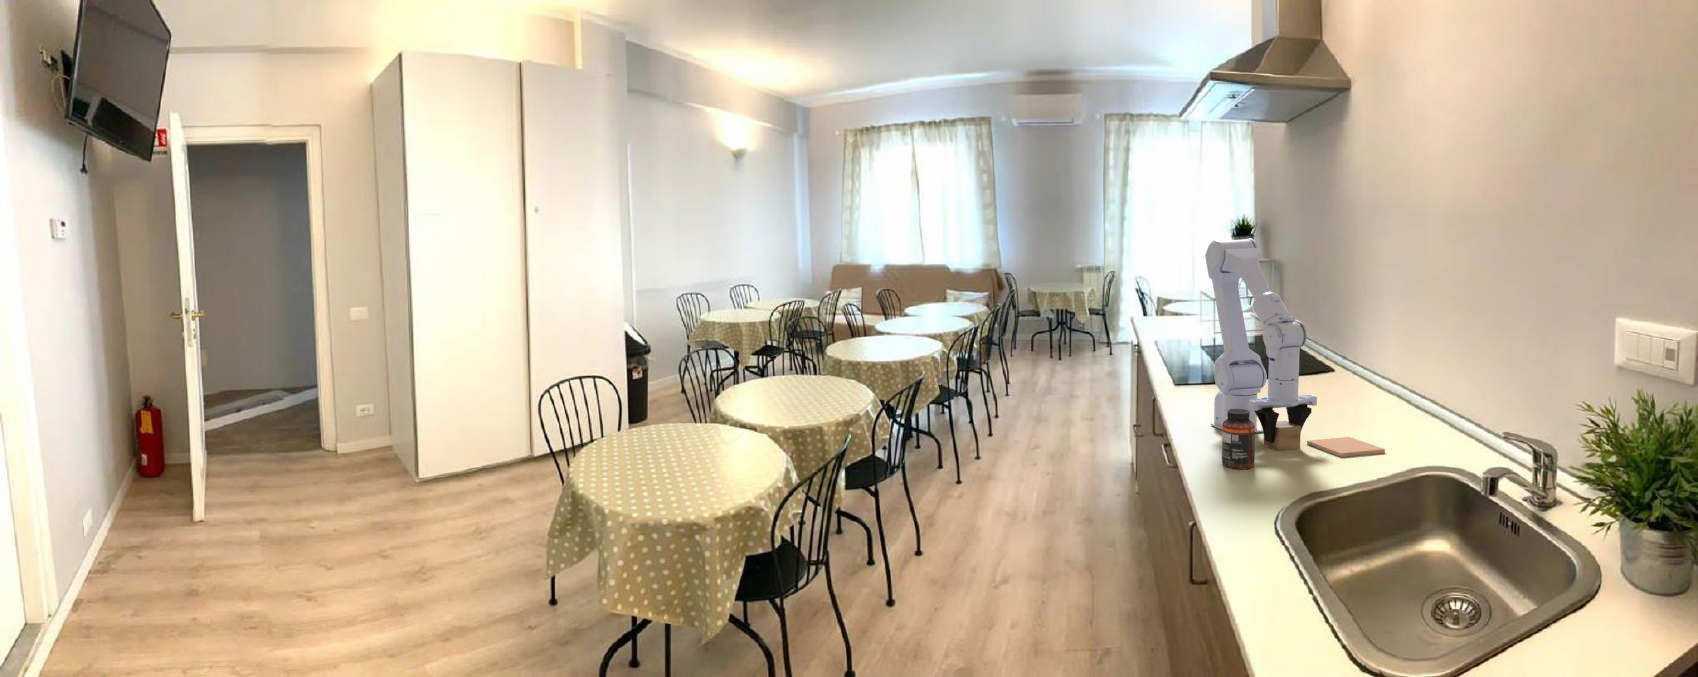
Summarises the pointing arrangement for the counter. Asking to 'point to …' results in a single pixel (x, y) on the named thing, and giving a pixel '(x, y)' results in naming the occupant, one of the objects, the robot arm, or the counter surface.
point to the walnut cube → (1285, 436)
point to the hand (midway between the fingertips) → (1281, 440)
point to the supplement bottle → (1238, 440)
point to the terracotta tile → (1345, 446)
